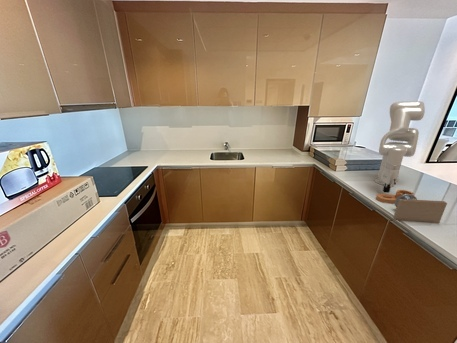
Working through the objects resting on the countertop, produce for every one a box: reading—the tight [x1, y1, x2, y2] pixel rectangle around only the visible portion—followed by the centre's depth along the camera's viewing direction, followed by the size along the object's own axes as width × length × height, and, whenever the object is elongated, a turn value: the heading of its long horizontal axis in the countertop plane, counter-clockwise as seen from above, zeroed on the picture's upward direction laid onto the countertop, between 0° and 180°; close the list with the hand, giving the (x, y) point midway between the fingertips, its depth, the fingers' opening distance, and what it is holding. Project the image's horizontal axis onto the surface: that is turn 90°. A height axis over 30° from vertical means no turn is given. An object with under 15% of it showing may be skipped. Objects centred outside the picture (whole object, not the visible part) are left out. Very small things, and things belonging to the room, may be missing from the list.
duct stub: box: [392, 194, 448, 224], centre depth 106 cm, size 12×20×12 cm, turn 78°
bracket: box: [375, 189, 415, 205], centre depth 122 cm, size 18×8×7 cm, turn 69°
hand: (385, 191), depth 130 cm, fingers closed
